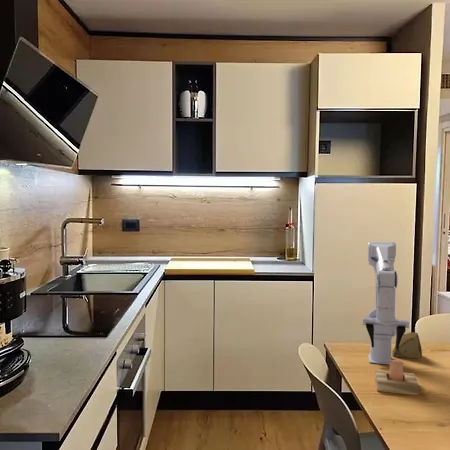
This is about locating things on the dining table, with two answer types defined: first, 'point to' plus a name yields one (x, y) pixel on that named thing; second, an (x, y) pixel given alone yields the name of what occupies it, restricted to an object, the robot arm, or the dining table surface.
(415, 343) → the rock
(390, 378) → the peg
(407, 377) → the socket block
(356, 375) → the dining table surface
